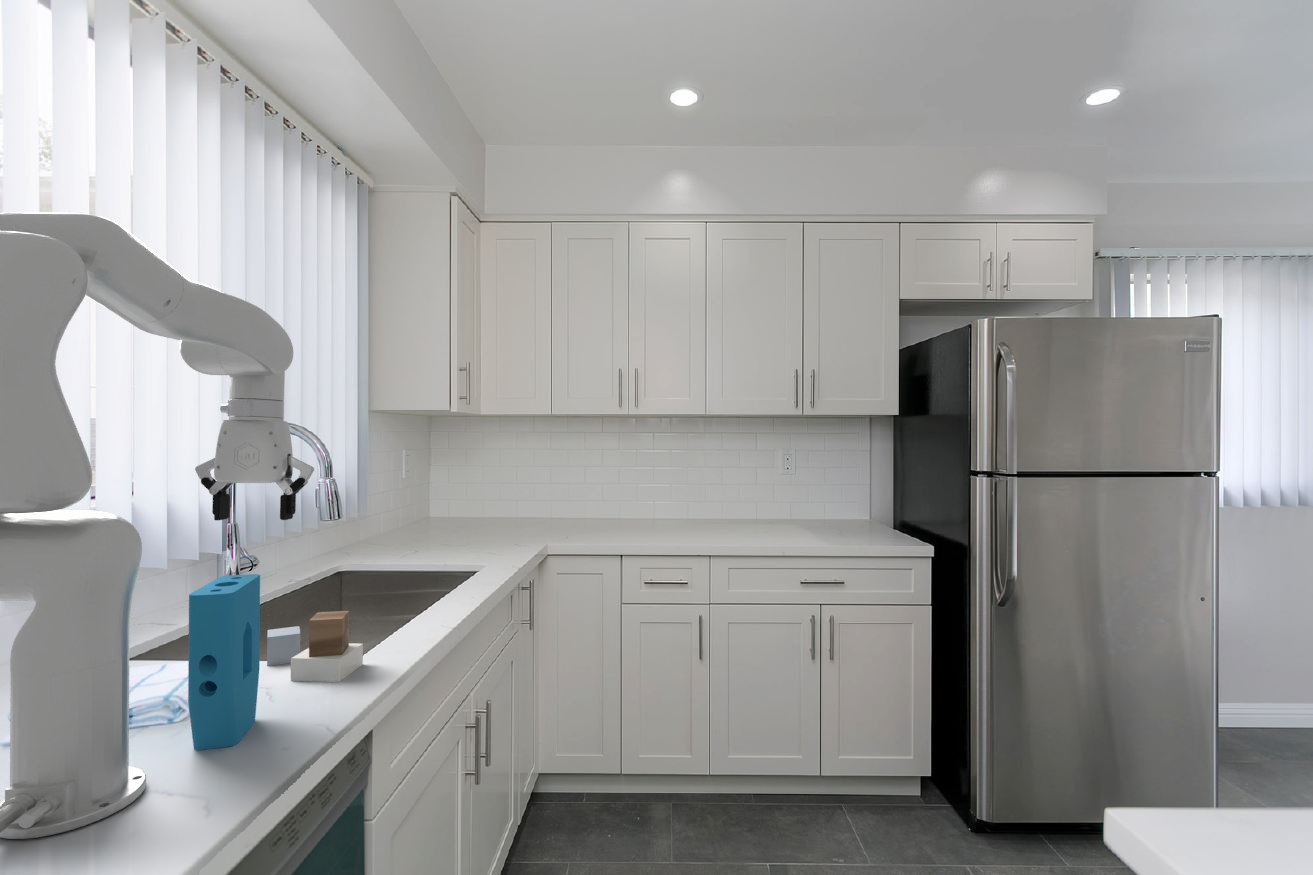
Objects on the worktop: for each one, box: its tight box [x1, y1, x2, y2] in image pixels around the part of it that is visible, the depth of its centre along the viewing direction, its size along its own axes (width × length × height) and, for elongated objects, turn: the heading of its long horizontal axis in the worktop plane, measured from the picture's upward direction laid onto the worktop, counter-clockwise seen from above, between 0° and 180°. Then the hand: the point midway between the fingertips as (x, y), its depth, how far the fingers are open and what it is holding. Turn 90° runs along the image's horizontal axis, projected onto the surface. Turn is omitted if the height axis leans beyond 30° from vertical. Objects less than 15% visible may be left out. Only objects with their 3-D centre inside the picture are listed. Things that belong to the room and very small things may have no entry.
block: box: [187, 573, 261, 751], centre depth 87 cm, size 12×5×20 cm, turn 16°
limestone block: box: [290, 642, 364, 683], centre depth 110 cm, size 8×8×4 cm
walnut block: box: [308, 610, 350, 657], centre depth 110 cm, size 5×5×6 cm
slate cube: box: [266, 626, 301, 667], centre depth 116 cm, size 5×5×5 cm
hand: (254, 519), depth 104 cm, fingers open, 9 cm apart
